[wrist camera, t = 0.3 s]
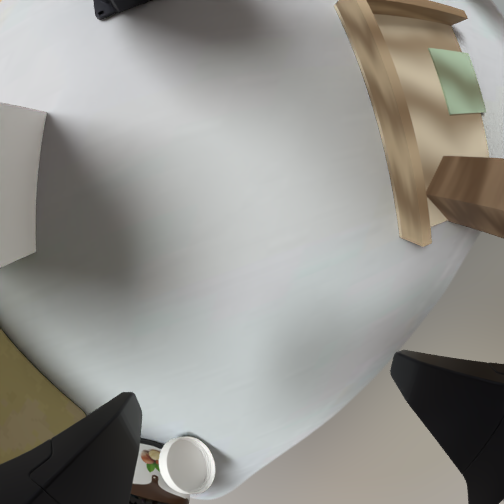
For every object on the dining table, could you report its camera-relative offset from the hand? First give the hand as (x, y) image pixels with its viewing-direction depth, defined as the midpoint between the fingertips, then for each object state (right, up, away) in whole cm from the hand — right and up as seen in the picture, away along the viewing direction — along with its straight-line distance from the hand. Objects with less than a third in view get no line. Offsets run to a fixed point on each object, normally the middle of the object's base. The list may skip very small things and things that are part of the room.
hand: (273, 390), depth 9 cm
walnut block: (+18, +10, +14) cm, 25 cm away
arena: (+16, +18, +12) cm, 27 cm away
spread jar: (-12, -19, +18) cm, 29 cm away
